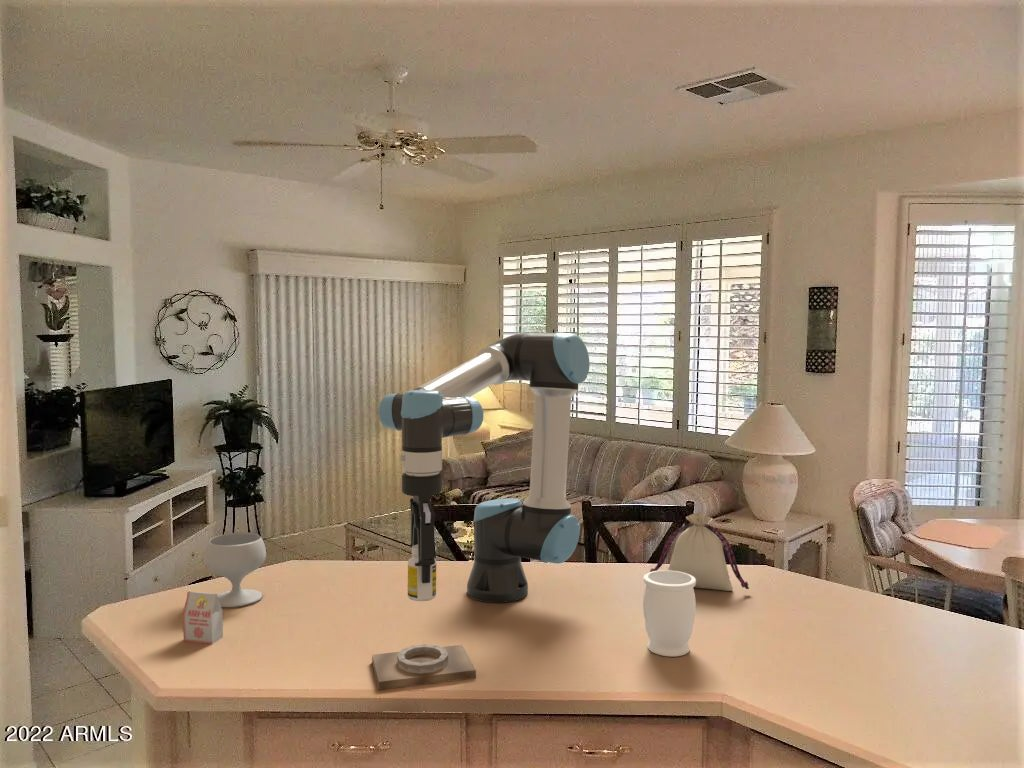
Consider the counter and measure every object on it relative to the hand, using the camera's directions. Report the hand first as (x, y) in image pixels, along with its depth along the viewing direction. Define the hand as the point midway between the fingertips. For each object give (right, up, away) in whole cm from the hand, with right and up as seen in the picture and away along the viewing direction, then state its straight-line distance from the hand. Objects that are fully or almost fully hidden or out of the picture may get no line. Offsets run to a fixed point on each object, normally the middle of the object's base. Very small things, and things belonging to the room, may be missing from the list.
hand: (422, 592), depth 144 cm
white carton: (-48, -14, +15) cm, 52 cm away
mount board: (0, -15, +1) cm, 15 cm away
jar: (+49, -15, +11) cm, 53 cm away
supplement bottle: (0, -1, 0) cm, 1 cm away
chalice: (-49, -13, +39) cm, 64 cm away
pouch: (+64, -12, +49) cm, 82 cm away
